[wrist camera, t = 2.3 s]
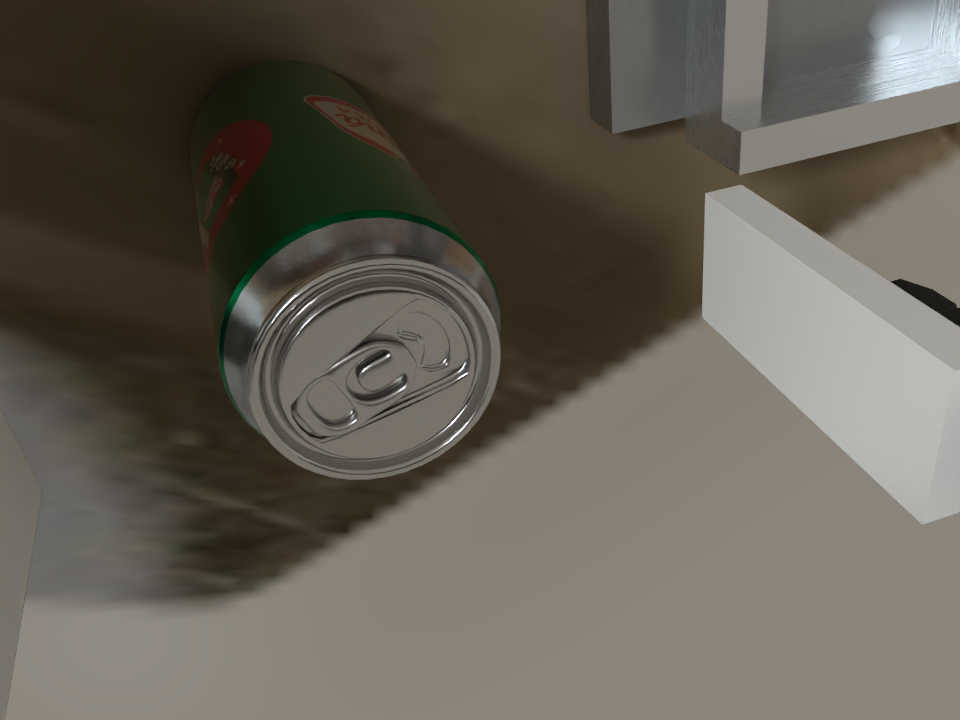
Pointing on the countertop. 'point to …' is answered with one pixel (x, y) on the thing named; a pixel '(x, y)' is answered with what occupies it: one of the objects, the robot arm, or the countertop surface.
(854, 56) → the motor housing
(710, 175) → the countertop surface
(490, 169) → the countertop surface
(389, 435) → the soda can
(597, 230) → the countertop surface
